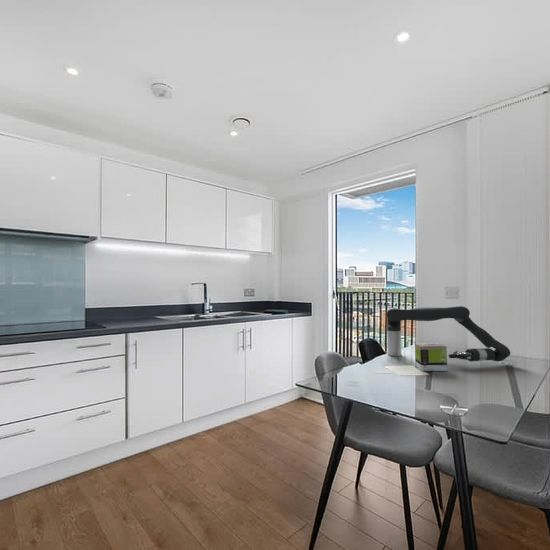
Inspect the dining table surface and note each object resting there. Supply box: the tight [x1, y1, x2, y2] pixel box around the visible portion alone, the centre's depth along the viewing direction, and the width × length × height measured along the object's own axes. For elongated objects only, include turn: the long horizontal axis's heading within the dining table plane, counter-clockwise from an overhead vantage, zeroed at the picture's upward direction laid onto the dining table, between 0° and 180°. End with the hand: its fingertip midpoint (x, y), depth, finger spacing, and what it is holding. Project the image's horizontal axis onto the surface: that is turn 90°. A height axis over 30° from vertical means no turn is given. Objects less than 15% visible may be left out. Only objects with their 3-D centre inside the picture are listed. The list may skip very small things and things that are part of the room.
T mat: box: [384, 364, 430, 377], centre depth 195 cm, size 20×30×1 cm, turn 96°
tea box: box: [414, 342, 448, 372], centre depth 197 cm, size 15×10×15 cm, turn 84°
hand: (449, 356), depth 198 cm, fingers closed
